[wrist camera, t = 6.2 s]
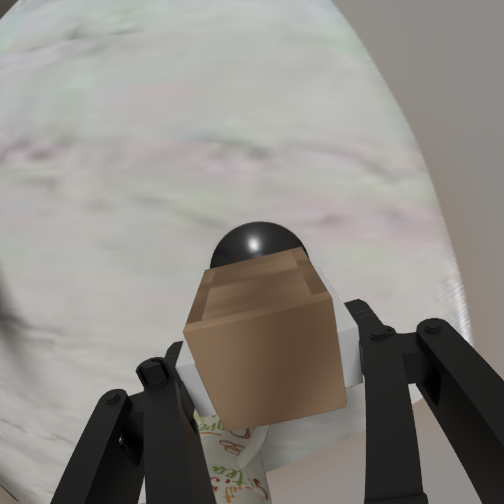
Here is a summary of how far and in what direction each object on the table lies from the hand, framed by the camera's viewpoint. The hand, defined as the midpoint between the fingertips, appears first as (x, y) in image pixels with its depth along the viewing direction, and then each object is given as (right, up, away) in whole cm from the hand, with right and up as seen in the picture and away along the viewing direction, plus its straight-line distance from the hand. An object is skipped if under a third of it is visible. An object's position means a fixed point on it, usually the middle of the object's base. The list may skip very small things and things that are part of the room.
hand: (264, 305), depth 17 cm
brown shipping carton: (0, 0, 0) cm, 0 cm away
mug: (-3, -11, +9) cm, 14 cm away
